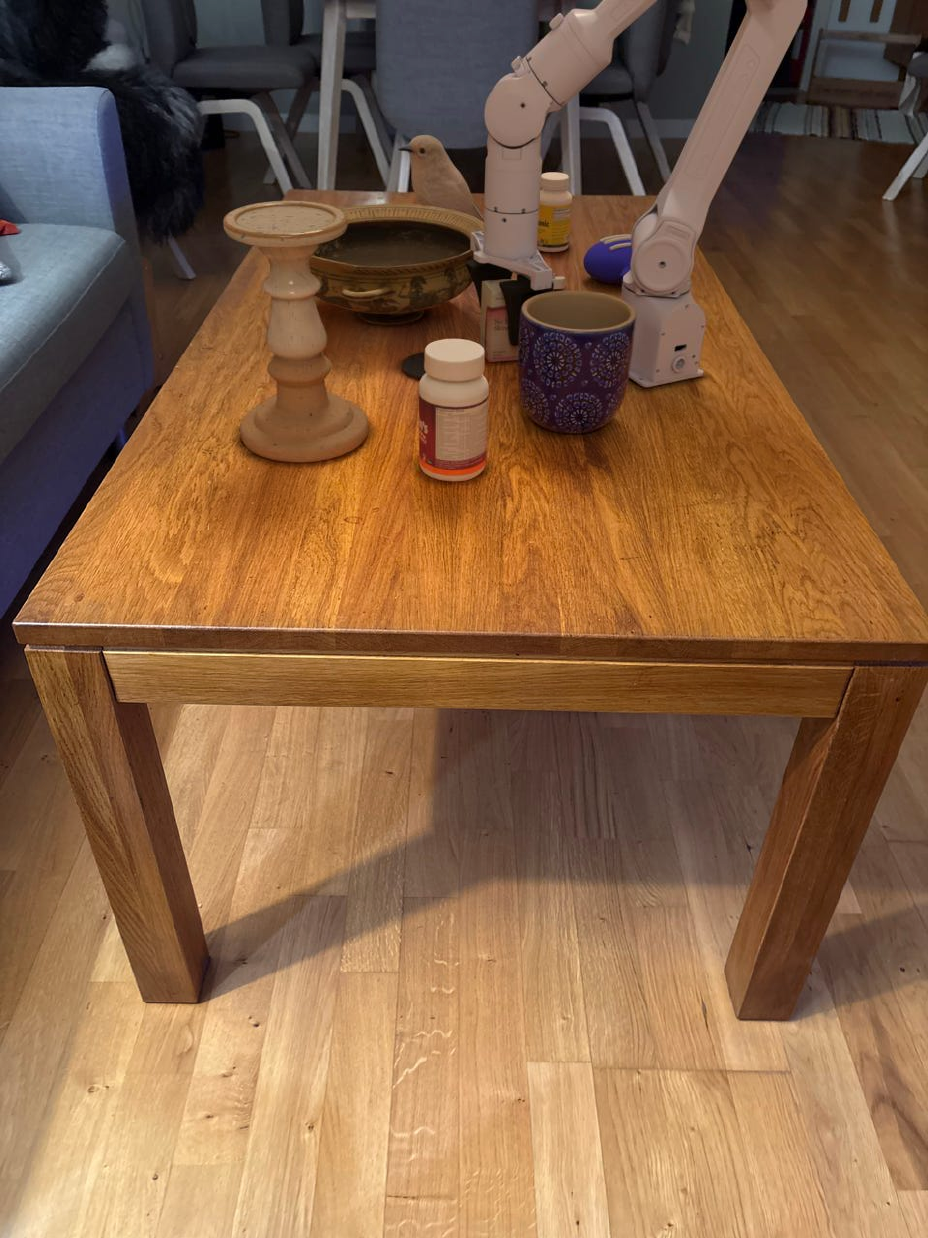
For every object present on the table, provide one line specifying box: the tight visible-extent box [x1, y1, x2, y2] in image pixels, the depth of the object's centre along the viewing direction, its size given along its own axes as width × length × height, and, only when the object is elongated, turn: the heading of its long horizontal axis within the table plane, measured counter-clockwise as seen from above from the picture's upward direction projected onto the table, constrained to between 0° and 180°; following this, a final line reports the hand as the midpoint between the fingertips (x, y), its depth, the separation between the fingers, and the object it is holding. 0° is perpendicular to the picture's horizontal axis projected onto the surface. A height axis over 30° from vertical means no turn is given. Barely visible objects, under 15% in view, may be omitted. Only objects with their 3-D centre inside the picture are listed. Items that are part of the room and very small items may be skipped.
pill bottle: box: [418, 338, 490, 482], centre depth 86 cm, size 6×6×11 cm
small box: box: [479, 278, 518, 363], centre depth 108 cm, size 5×4×8 cm
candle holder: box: [222, 200, 370, 463], centre depth 88 cm, size 12×12×20 cm
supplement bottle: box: [537, 171, 573, 253], centre depth 139 cm, size 5×5×10 cm
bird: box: [397, 134, 484, 223], centre depth 136 cm, size 5×14×15 cm, turn 105°
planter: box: [517, 289, 636, 435], centre depth 94 cm, size 11×11×11 cm
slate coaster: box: [401, 351, 426, 381], centre depth 107 cm, size 7×7×1 cm
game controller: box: [552, 272, 566, 290], centre depth 124 cm, size 6×12×3 cm, turn 16°
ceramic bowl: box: [310, 203, 484, 326], centre depth 116 cm, size 30×24×10 cm
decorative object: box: [582, 233, 632, 285], centre depth 128 cm, size 10×6×10 cm
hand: (506, 333), depth 109 cm, fingers open, 6 cm apart
